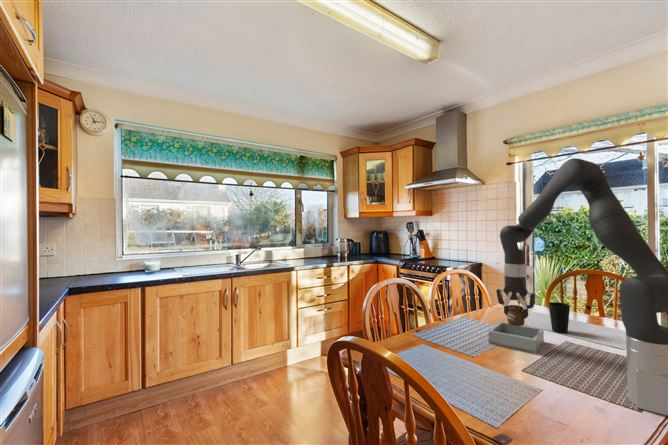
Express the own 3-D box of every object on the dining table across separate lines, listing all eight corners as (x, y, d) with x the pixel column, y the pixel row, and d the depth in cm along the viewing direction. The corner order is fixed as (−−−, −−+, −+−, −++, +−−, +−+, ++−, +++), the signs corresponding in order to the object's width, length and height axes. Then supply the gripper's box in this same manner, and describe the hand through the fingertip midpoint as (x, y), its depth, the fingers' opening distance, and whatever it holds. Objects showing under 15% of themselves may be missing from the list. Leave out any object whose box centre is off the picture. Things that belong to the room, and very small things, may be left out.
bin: (535, 354, 114) (535, 340, 114) (488, 343, 125) (488, 331, 125) (543, 341, 125) (543, 329, 125) (500, 333, 136) (500, 321, 136)
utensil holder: (518, 321, 128) (517, 292, 129) (528, 326, 122) (527, 295, 122) (504, 321, 128) (503, 292, 128) (513, 326, 122) (512, 296, 122)
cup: (553, 333, 135) (552, 305, 135) (546, 328, 142) (545, 301, 142) (574, 335, 132) (573, 306, 133) (566, 329, 140) (565, 302, 140)
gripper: (492, 274, 127) (493, 315, 127) (533, 277, 118) (535, 322, 117) (498, 272, 133) (499, 311, 133) (537, 275, 123) (538, 318, 123)
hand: (516, 316), depth 125 cm, fingers closed on utensil holder, 5 cm apart
